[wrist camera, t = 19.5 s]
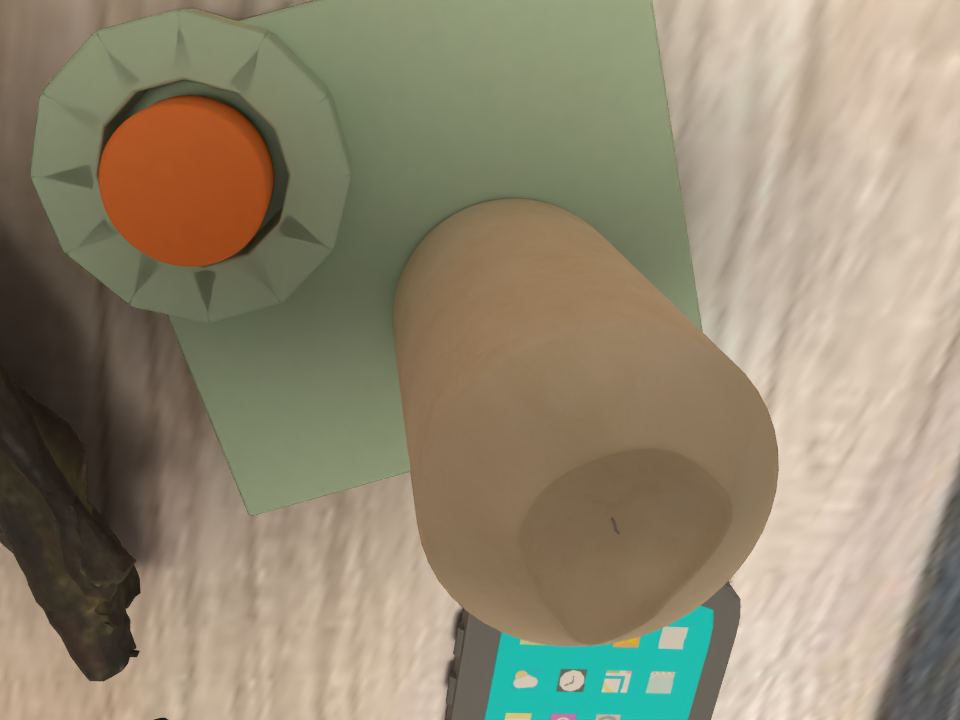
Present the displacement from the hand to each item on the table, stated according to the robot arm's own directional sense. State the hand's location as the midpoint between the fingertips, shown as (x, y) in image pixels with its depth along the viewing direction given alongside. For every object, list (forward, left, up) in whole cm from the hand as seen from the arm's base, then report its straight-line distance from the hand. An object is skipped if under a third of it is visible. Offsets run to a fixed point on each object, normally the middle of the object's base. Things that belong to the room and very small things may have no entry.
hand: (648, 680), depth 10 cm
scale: (-1, +2, -15) cm, 15 cm away
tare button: (-5, +5, -11) cm, 13 cm away
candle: (+1, 0, -13) cm, 13 cm away
